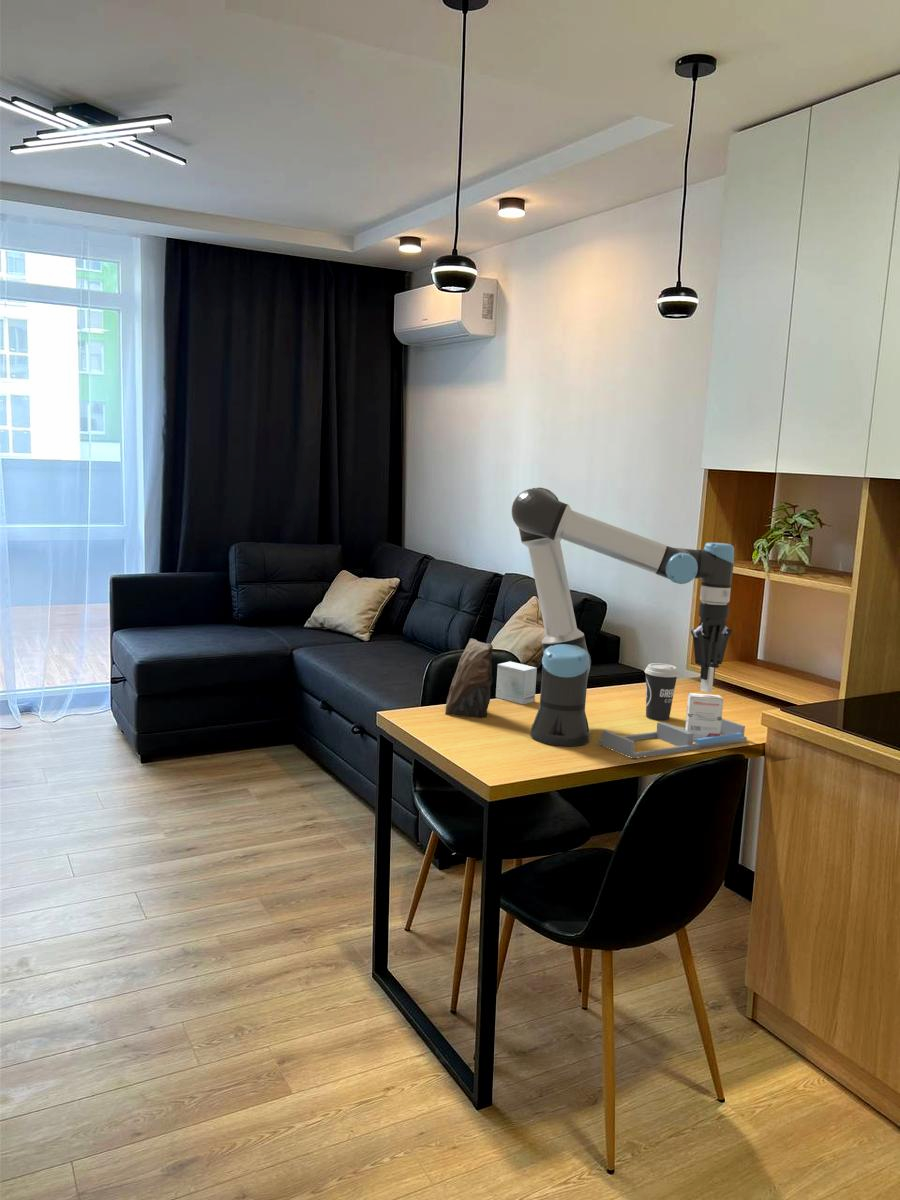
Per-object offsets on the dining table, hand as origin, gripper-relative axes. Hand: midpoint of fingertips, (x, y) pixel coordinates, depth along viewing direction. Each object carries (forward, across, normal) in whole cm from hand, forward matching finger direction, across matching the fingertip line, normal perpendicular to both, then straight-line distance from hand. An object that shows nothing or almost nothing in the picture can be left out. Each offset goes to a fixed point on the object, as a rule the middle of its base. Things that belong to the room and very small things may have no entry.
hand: (705, 691), depth 242 cm
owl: (+13, -46, +44) cm, 65 cm away
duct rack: (+13, -10, 0) cm, 16 cm away
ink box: (+13, 0, 0) cm, 13 cm away
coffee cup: (+13, +4, +20) cm, 25 cm away
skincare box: (+13, -24, +52) cm, 58 cm away
